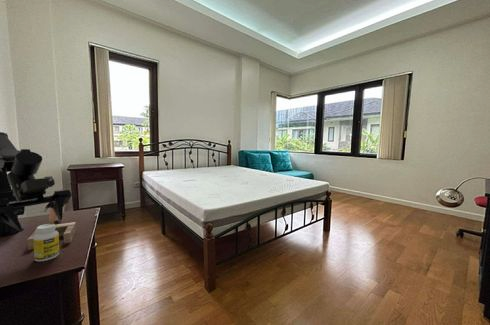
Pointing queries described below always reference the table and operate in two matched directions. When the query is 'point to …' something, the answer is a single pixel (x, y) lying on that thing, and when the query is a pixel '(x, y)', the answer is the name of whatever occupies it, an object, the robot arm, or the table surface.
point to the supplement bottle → (46, 243)
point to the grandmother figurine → (51, 212)
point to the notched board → (63, 230)
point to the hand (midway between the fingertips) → (42, 224)
